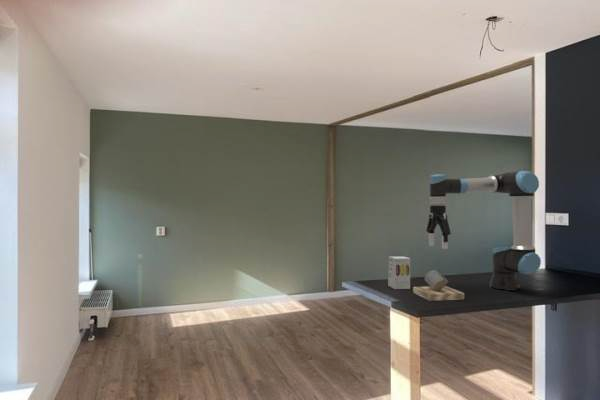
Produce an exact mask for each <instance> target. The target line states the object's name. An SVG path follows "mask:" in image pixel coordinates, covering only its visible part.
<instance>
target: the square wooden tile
mask: <svg viewBox="0 0 600 400" xmlns="http://www.w3.org/2000/svg"><path fill="white" fill-rule="evenodd" d="M412 291H413V294H415V295H417V296H419V297H421V298H423V299H425V300H427V301H429V302H431V301H432V302H435V301H456V300H458V301H459V300H465V292H462V291H460V290H457V289H455V288H451V287H450V286H447V285H445V286H444V287H443V288H442V289H441V290H438V291H435V290H434V289H433V288H432V287H431V286H430V285H429V286H428V285H427V286H413V287H412Z"/></svg>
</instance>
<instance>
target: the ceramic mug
mask: <svg viewBox="0 0 600 400" xmlns="http://www.w3.org/2000/svg"><path fill="white" fill-rule="evenodd" d="M424 281H425V282H426V283H427V284H428V285H429V286H431V287H432V288H433V289H434V290H435V291H438V290H441V289H442V288H443V287H444V286H447V284H448V279H447V278H446V277H445V276H444V275H442V274H440V273H439V272H438V270H436V269H433V270H430V271H429V272H426V274H425V276H424Z"/></svg>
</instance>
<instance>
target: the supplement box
mask: <svg viewBox="0 0 600 400" xmlns="http://www.w3.org/2000/svg"><path fill="white" fill-rule="evenodd" d="M387 265H388V267H387V268H388V269H387V271H388V276H387V281H388V282H387V283H388V284H387V285H388V287H390V288H392V289H393V290H407V289H408V290H409V289H411V258H410V257H407V256H400V255H399V256H390V255H389V256H388V264H387Z"/></svg>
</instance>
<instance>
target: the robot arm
mask: <svg viewBox="0 0 600 400" xmlns="http://www.w3.org/2000/svg"><path fill="white" fill-rule="evenodd" d="M539 186H540V179H539V177H538V176H537V175H536V174H535V173H534V172H533V171H529V170H520V171H513V172H512V171H511V172H504V173H500V174H495V175H488V177H474V178H471V177H470V178H447V177H446V174H444V173H443V174H441V173H440V174H439V173H438V174H432V175H430V177H429V204H430V206H429V212H430V214H429V215H428V222H427V226H426V232H427V233H428V246H429V247H435V230H436V227H437V225H438V226H439V228H440V231H441V249H442V250H448V249H449V247H448V246H449V244H448V243H449V241H448V240H449V237H448V236H449V235H451V234H452V232H451V229H450V225H449V221H448V215H447V214H445V213H446V212H447V206H446V204H447V194H448V195H449V194H450V195H451V194H457V195H458V194H460V195H461V194H465V193H478V192H489V193H498V194H500V193H501V194H509V195H508V197H509V198H510V199H511V200H512V231H513V233H512V237H513V240H512V241H513V245H511V246H507V247H506V246H505V247H504V246H503V247H494V248H493V250H492V276H491V278H490V282H489V288H491V287H493V288H497V289H496V290H498V289H518V288H520V289H521V285H520V282H519V280H518V277H517V273H519V274H521V275H533V274H535V273H537V271H538V270H539V269H540V268H541V263H542V259H541V257H540V256H539V254H537V253H536V248H535V247H534V245H533V241H532V240H533V239H532V238H533V237H532V236H533V235H532V234H533V233H532V201H531V200H532V199H533V198H534V197H535V193H536V192H537V190H538V189H539ZM493 288H492V289H493Z"/></svg>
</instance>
